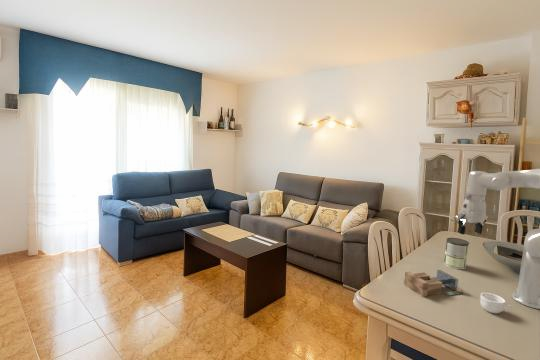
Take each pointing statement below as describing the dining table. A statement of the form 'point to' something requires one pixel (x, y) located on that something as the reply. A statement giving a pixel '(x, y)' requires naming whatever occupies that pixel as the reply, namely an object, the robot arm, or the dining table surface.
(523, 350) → the dining table surface
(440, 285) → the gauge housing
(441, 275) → the grey angular frame piece
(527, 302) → the robot arm
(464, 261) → the coffee can
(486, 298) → the teacup
